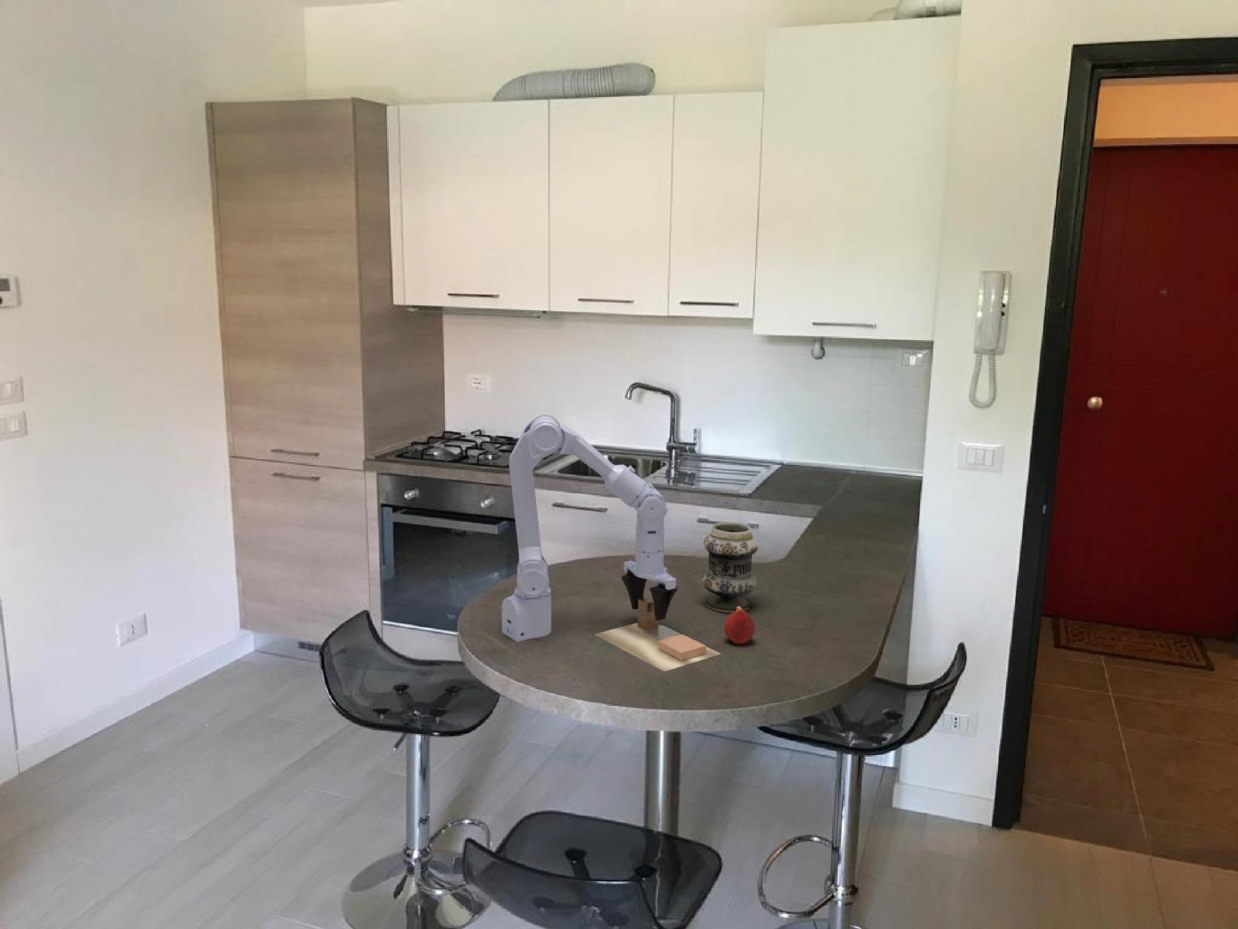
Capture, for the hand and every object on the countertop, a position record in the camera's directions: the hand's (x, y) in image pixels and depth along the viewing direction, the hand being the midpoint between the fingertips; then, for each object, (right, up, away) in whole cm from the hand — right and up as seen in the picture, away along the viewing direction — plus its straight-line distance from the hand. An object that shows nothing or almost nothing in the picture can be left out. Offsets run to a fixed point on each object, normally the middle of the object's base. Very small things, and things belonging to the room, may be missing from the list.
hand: (648, 613), depth 190 cm
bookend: (+2, -3, -2) cm, 4 cm away
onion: (+18, -5, -6) cm, 19 cm away
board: (+1, -5, -8) cm, 9 cm away
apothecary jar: (+18, -1, +16) cm, 24 cm away
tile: (+4, -4, -9) cm, 10 cm away
